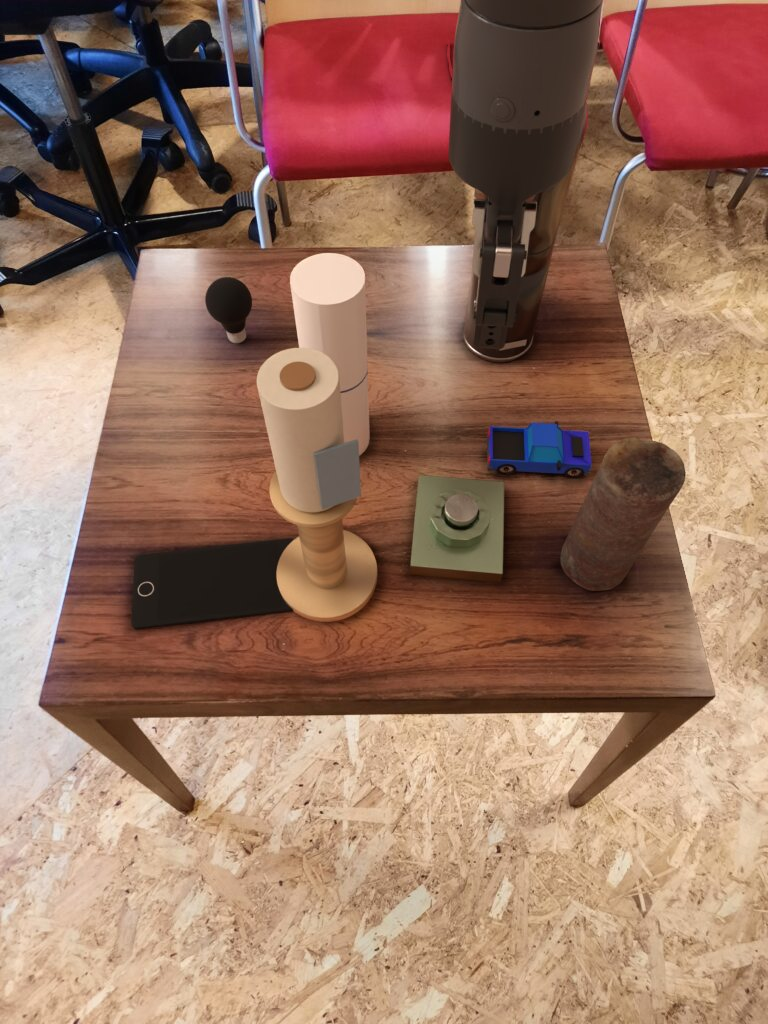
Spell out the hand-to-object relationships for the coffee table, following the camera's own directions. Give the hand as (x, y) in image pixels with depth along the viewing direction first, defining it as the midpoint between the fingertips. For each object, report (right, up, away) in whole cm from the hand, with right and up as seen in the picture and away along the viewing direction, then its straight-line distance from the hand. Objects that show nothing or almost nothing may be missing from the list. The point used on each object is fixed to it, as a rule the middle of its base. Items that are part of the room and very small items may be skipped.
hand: (491, 302), depth 55 cm
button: (0, -16, +26) cm, 31 cm away
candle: (+15, -22, +27) cm, 38 cm away
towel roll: (-14, -13, +11) cm, 22 cm away
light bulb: (-28, +8, +45) cm, 54 cm away
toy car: (+10, -9, +35) cm, 38 cm away
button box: (0, -18, +29) cm, 34 cm away
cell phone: (-26, -24, +27) cm, 44 cm away
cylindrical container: (-13, -7, +37) cm, 39 cm away
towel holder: (-14, -23, +26) cm, 38 cm away
